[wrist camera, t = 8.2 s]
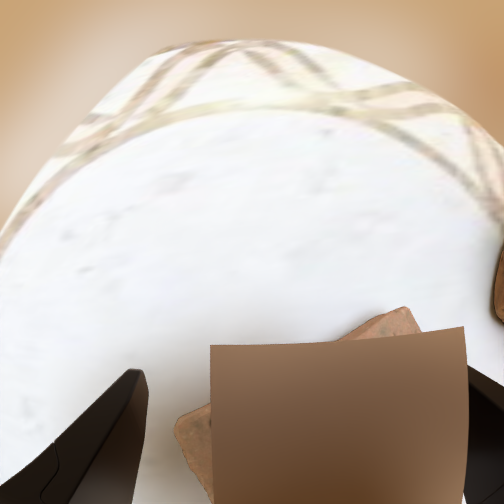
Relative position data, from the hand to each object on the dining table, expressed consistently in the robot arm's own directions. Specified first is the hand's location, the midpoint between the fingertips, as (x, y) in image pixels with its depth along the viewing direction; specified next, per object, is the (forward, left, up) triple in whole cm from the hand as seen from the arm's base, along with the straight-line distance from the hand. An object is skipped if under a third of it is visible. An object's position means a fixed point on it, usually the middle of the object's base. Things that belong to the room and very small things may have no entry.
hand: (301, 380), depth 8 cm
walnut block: (-2, -1, -8) cm, 8 cm away
